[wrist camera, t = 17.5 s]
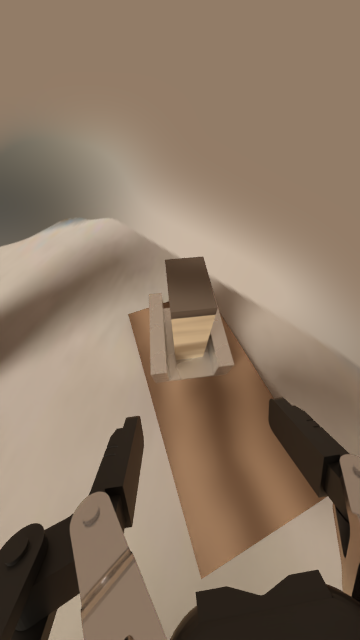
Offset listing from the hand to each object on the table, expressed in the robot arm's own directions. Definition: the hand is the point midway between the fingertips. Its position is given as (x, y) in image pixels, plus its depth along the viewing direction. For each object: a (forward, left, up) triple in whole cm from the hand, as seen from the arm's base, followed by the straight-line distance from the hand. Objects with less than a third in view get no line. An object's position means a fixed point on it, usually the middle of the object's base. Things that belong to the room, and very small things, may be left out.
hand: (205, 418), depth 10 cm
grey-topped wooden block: (+2, +8, -6) cm, 10 cm away
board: (+2, +3, -7) cm, 8 cm away
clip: (+2, +8, -6) cm, 10 cm away
